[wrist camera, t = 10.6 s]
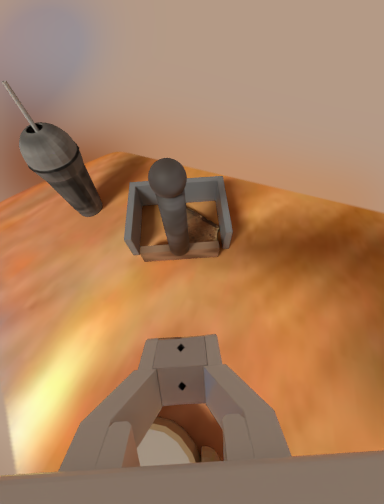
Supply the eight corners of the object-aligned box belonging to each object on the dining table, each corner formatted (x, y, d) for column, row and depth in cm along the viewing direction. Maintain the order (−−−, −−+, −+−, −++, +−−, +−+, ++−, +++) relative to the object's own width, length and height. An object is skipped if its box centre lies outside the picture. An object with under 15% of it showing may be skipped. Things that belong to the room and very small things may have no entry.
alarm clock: (117, 404, 24) (254, 473, 19) (136, 399, 28) (252, 455, 23) (59, 549, 19) (224, 693, 14) (93, 518, 23) (228, 619, 18)
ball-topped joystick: (216, 243, 35) (230, 144, 19) (218, 263, 34) (237, 172, 17) (145, 248, 35) (99, 153, 19) (144, 268, 34) (92, 183, 17)
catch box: (220, 196, 40) (222, 175, 36) (228, 248, 35) (232, 232, 31) (137, 201, 40) (129, 182, 36) (133, 255, 35) (124, 239, 31)
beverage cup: (75, 228, 38) (-34, 113, 20) (68, 200, 41) (-33, 79, 23) (114, 213, 39) (43, 93, 21) (104, 188, 42) (35, 64, 25)
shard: (175, 205, 40) (174, 199, 39) (214, 202, 40) (215, 195, 39) (177, 255, 35) (176, 250, 34) (222, 251, 36) (223, 246, 34)
